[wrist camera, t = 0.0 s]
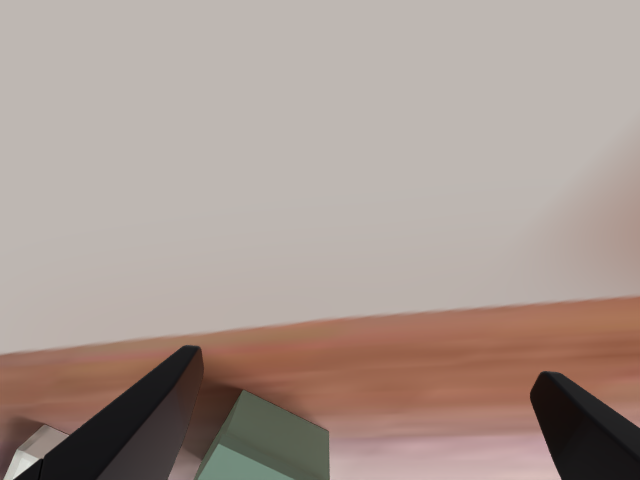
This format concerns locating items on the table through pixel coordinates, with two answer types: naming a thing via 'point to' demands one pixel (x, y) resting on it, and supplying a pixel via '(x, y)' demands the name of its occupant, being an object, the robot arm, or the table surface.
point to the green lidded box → (266, 445)
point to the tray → (34, 450)
